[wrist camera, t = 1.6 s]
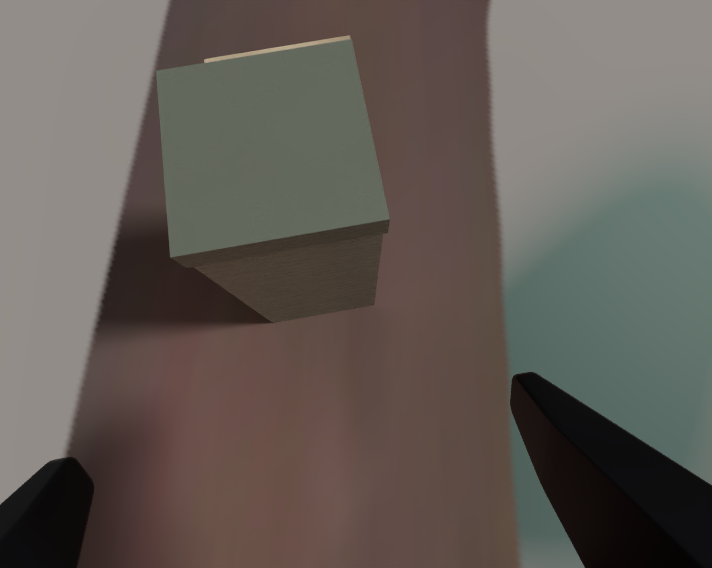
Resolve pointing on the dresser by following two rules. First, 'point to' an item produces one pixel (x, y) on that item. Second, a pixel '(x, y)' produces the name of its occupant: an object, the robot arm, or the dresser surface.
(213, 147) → the green lidded box
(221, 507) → the dresser surface
